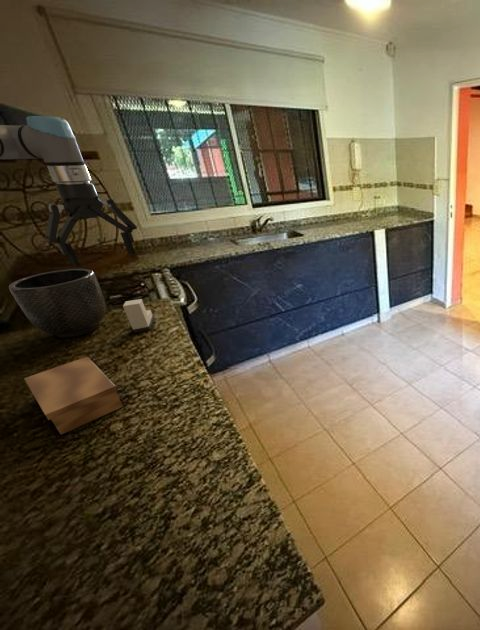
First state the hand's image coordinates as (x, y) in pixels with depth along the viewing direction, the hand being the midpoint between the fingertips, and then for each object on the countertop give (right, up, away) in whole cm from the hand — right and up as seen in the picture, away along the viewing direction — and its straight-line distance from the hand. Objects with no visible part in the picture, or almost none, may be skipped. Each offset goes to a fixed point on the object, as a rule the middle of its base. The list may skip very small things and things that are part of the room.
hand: (105, 259), depth 101 cm
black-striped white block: (-5, -20, +20) cm, 29 cm away
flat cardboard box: (+9, -38, -17) cm, 42 cm away
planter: (-25, -22, +17) cm, 37 cm away
